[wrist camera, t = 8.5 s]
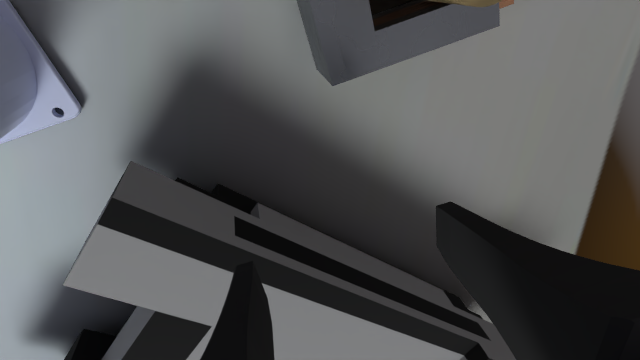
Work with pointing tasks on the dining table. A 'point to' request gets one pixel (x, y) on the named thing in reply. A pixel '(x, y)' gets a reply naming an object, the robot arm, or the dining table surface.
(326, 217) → the dining table surface
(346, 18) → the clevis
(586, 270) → the robot arm
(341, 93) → the dining table surface
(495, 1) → the brass peg
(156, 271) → the game console
